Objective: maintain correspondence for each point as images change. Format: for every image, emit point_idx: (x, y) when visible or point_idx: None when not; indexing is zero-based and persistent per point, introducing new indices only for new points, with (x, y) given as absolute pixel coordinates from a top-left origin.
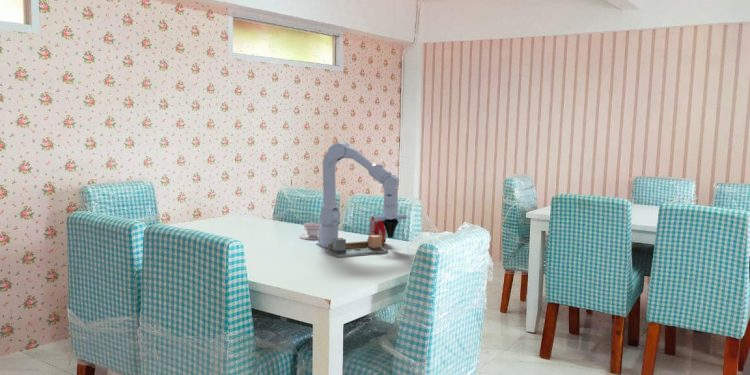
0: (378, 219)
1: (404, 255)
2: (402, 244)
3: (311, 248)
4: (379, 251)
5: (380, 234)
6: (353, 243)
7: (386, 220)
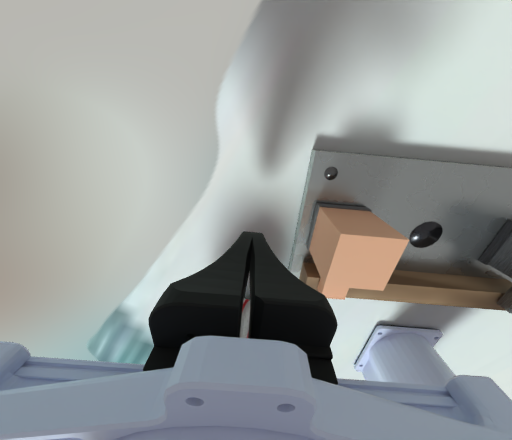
0: (445, 412)
1: (276, 24)
2: (157, 267)
3: (474, 338)
4: (368, 155)
5: (240, 330)
6: (418, 284)
7: (321, 369)
